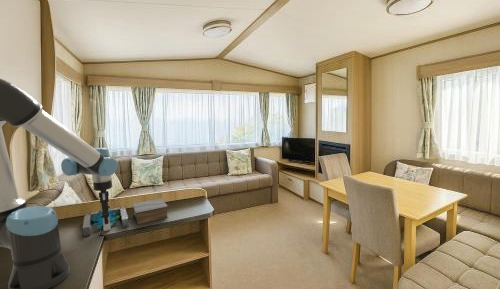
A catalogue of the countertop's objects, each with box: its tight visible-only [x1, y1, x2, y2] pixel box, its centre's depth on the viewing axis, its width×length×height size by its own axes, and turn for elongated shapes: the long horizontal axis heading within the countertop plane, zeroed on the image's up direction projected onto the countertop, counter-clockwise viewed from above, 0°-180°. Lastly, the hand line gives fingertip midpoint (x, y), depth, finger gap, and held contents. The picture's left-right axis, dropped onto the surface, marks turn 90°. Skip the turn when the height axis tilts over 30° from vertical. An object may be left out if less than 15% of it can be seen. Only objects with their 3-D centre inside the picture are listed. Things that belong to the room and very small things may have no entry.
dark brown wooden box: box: [132, 197, 169, 225], centre depth 127 cm, size 15×15×6 cm
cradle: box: [82, 206, 130, 238], centre depth 119 cm, size 18×18×4 cm
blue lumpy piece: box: [92, 209, 120, 230], centre depth 118 cm, size 11×6×10 cm
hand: (107, 225), depth 116 cm, fingers open, 9 cm apart
